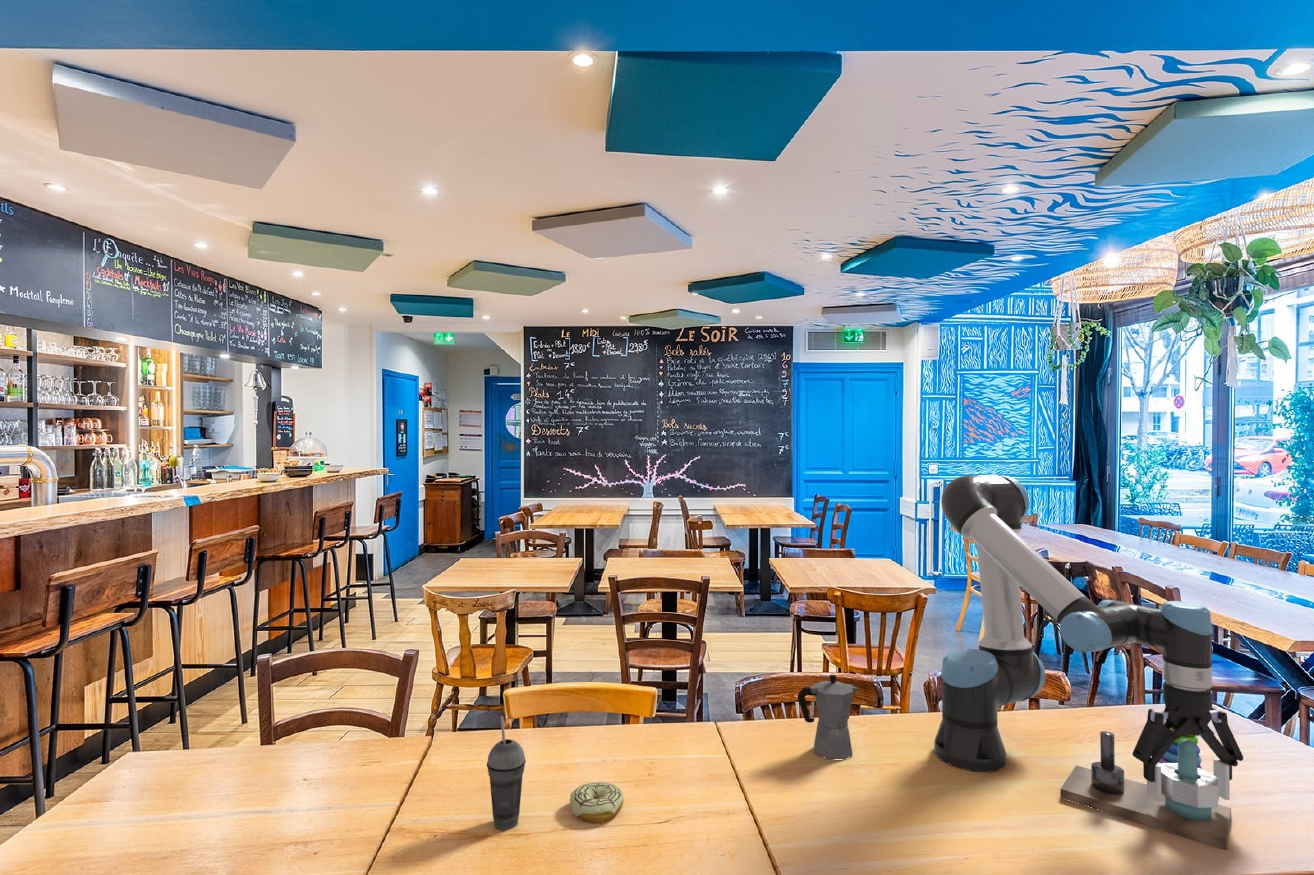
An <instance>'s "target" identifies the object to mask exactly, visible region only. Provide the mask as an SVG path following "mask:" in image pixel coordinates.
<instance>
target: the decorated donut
mask: <svg viewBox="0 0 1314 875" xmlns="http://www.w3.org/2000/svg"><path fill="white" fill-rule="evenodd" d="M569 803H570V806H571V812H572V813H573V814H574V816H576V817H577V818H579V819H581V821H582V822H585V823H586V822H587V823H590V824H593V823H594V824H599V823H600V824H603V823H606V822H609V821H612V820H613V819H615V818H616V817H617V816H618V814H619V813H620V811H621V809H622V808H623V805H624V793H623V790H622V789H621V788H619V787H618V786H616V784H612V783H609V782H603V781H599V782H589V783H584V784H581V785H579V786H578V787H576V788H575V790H573V791H572V792H571V793H570V798H569ZM616 815H617V816H616Z"/></svg>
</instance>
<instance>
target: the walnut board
mask: <svg viewBox="0 0 1314 875" xmlns="http://www.w3.org/2000/svg"><path fill="white" fill-rule="evenodd" d="M1059 791H1060V793H1059V794H1060V798H1062V799H1061V800H1063V799H1066V800H1065V801H1067V800H1070V801H1073V802H1076V803H1079V804H1081V805H1080V806H1083V805H1086V806H1089V807H1092V808H1094V809H1093V810H1096V809H1099V810H1102V811H1103V813H1106V814H1109V815H1112V816H1115V817H1119V818H1122V819H1126V820H1129V821H1132V822H1135V823H1138V824H1141V825H1145V826H1147V827H1151V828H1154V829H1157V830H1161V831H1164V832H1167V833H1171V834H1173V835H1177V836H1181V837H1183V838H1187V839H1190V840H1194V841H1196V842H1199V843H1202V844H1206V845H1210V846H1213V847H1216V848H1219V849H1221V850H1227V848H1228V841H1229V836H1230V828H1231V823H1232V807H1229V806H1225V805H1222V804H1220V803H1218V806H1217V807H1211V812H1212V818H1211V819H1210V820H1207V821H1197V820H1191V819H1187V818H1184V817H1181V816H1178V815H1176V814H1174V813H1172V812H1171V811H1169V810H1168V809H1167V808H1166V806H1165V795H1163V794H1162V793H1161V799H1162V801H1156V800H1155V799H1153V798H1152V797H1150V796H1149V795H1147V783H1143V782H1138V781H1134V780H1131V779H1128V778H1124V793H1123V794H1121V795H1113V794H1107V793H1104V792H1101V791H1099V790H1097V789H1095V788H1094V787H1093V786H1092V784H1091V768H1088V767H1085V766H1081V765H1077V764H1075V766H1074V768H1073V769H1072V771H1071V772H1070V774H1069V775H1068V777H1067V778H1066V780H1065V781H1064V782H1063V784H1062V785H1061V787H1060V789H1059ZM1070 801H1069V802H1070ZM1073 802H1072V803H1073ZM1076 803H1075V804H1076ZM1079 804H1078V805H1079ZM1086 806H1085V807H1086ZM1089 807H1088V808H1089ZM1092 808H1091V809H1092ZM1099 810H1098V811H1099ZM1102 811H1101V812H1102Z"/></svg>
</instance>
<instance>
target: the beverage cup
mask: <svg viewBox="0 0 1314 875" xmlns="http://www.w3.org/2000/svg"><path fill="white" fill-rule="evenodd" d="M504 722H505V721H504V716H503V715H501V716H500V726H501V738H502V739H501V740H500V741H498V742H497V743H495V744H494V745H493V747H492V748H491V749H490V751H489V752H488V755H487V756H488V757H487V761H486V768H487V774H488V777H489V784H490V786H489V787H490V797H491V807H492V809H491V810H492V820H493V827H494V829H497V830H500V831H507V830H512V829H513V828H516V827H517V826H518V825H519V817H520V811H521V799H522V798H521V797H522V789H523V788H522V786H523V777H524V776H523V775H524V772H525V768H526V767H525V766H526V757H525V752H524V749H523V747H522V746H521V745H520V744H519V743H518V742H517V741H515V740H513V739H509V738H507V739H506V734H505V723H504Z"/></svg>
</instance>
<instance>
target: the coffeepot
mask: <svg viewBox="0 0 1314 875" xmlns="http://www.w3.org/2000/svg"><path fill="white" fill-rule="evenodd" d="M858 690H860V687H858V686H857V685H854V684H849V683H844V682H840V681H837V675H836V674H830V675H829V681H827V680H823V681H819V682H816V683H813V685H812V686H811V685H810V686H803V687H802V688H801V690H800V691H798V692H799V693H797V701H798V703H799V706H800V709H801V712H802V715H803V719H804V721H805V722H806V723H814V722H815V717H810V711H809V708H808V705H807V703H808V702H807V700H806V696H812V697H813V696H814V697H815V698H814V699H815V704H816V711H817V716H818V721H817V725H816V730H815V737H814V742H813V751H814V754H816V755H817V754H819V755H820V756H822V757H821V758H823V757H825V758H827V759H826V760H829V759H845V760H847V759H846V758H848V757H849V756H851V757H853V756H852V755H854V754H853V749H852V741H851V735H850V729H849V725H848V724H849V721H848V720H849V719H850V716H851V709H852V703H853V702H852V700H853V698H854V696H855V694H856V693H857V691H858ZM820 756H819V757H820ZM825 758H824V759H825ZM848 759H849V758H848Z"/></svg>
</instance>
